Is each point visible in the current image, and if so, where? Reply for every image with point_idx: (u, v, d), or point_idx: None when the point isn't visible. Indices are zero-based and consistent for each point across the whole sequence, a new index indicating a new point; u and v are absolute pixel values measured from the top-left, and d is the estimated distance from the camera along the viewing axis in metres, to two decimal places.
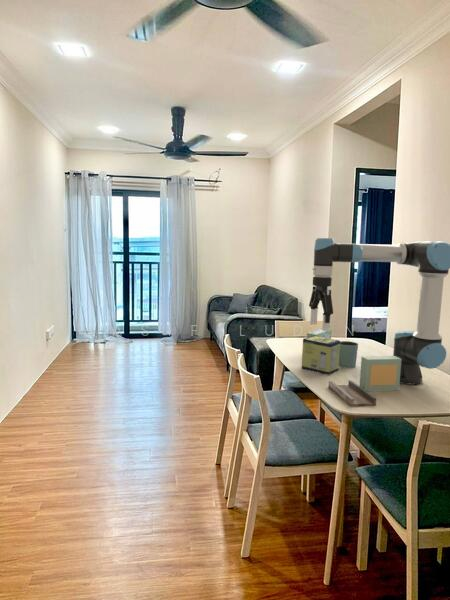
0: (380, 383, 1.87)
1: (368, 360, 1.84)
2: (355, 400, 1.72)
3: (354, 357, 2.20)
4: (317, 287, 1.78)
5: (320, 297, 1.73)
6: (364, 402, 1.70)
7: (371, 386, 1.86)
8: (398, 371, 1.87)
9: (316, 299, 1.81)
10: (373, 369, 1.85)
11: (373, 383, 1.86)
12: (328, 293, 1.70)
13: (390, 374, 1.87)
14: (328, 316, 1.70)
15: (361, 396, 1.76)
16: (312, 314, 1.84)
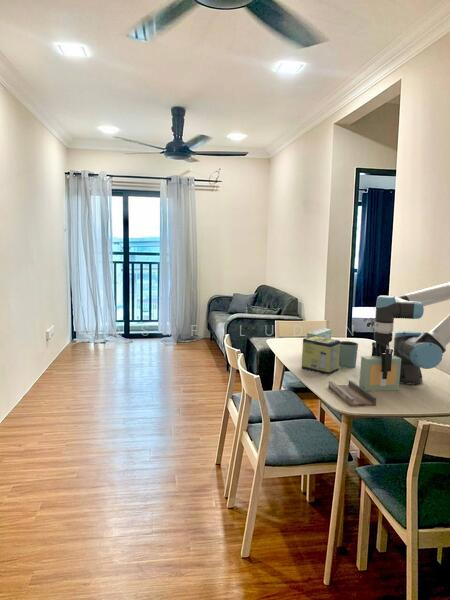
0: None
1: (368, 360, 1.85)
2: (355, 400, 1.72)
3: (354, 357, 2.20)
4: None
5: (381, 353, 1.85)
6: (364, 402, 1.70)
7: (371, 386, 1.86)
8: (398, 371, 1.87)
9: (378, 354, 1.90)
10: (372, 369, 1.85)
11: (373, 383, 1.86)
12: (390, 352, 1.81)
13: (389, 374, 1.87)
14: (386, 373, 1.84)
15: (361, 396, 1.76)
16: None
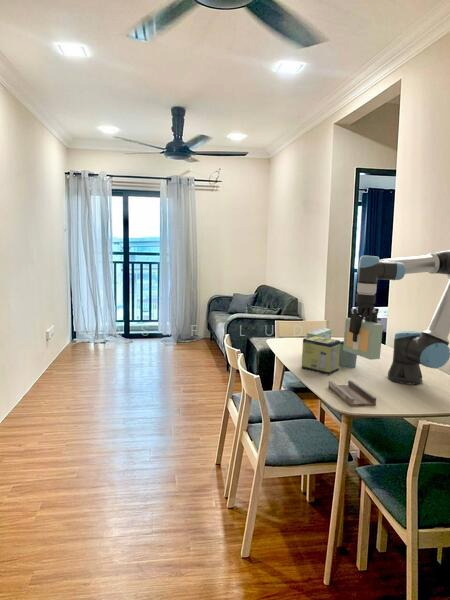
0: None
1: (346, 319, 1.84)
2: (355, 400, 1.72)
3: (354, 357, 2.20)
4: None
5: (356, 314, 1.78)
6: (364, 402, 1.70)
7: (348, 347, 1.83)
8: (370, 338, 1.72)
9: (366, 318, 1.79)
10: None
11: (349, 344, 1.82)
12: (352, 312, 1.75)
13: (362, 339, 1.75)
14: (354, 335, 1.77)
15: (361, 396, 1.76)
16: None
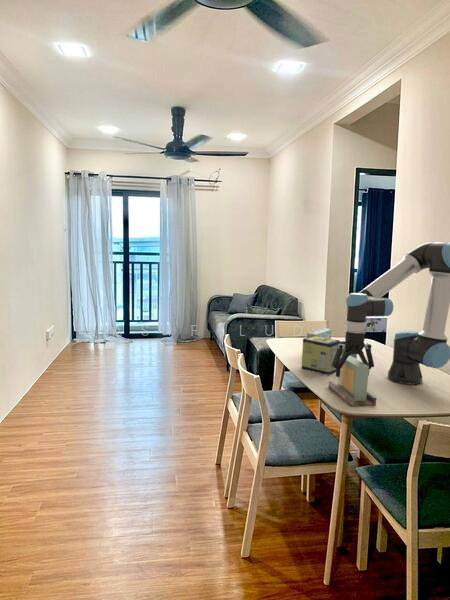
0: (344, 385, 1.79)
1: (340, 357, 1.84)
2: None
3: (354, 357, 2.20)
4: None
5: None
6: (364, 402, 1.70)
7: (340, 385, 1.83)
8: (354, 379, 1.71)
9: (359, 355, 1.78)
10: None
11: None
12: (338, 348, 1.75)
13: (349, 379, 1.75)
14: (336, 370, 1.76)
15: None
16: None
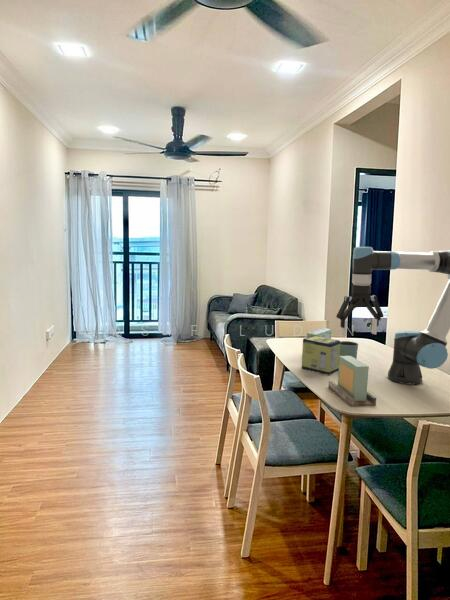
0: (344, 385, 1.79)
1: (340, 357, 1.84)
2: None
3: (354, 357, 2.20)
4: None
5: None
6: (364, 402, 1.70)
7: (340, 385, 1.83)
8: (354, 379, 1.71)
9: (367, 307, 1.81)
10: (341, 367, 1.82)
11: (341, 382, 1.82)
12: (345, 299, 1.78)
13: (349, 379, 1.75)
14: (341, 321, 1.79)
15: None
16: (372, 323, 1.83)
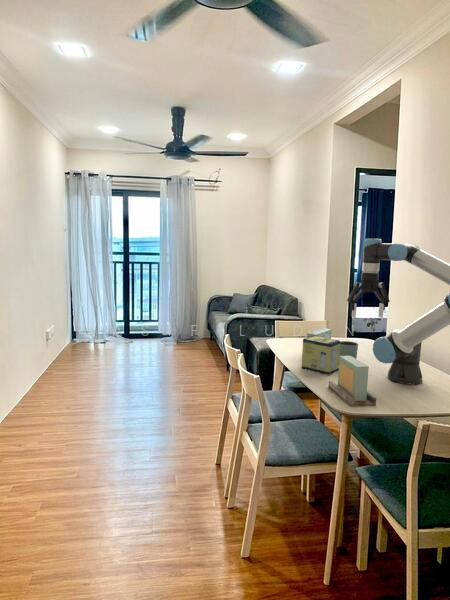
0: (344, 385, 1.79)
1: (340, 357, 1.84)
2: None
3: (354, 357, 2.20)
4: None
5: (360, 289, 2.02)
6: (364, 402, 1.70)
7: (340, 385, 1.83)
8: (354, 379, 1.71)
9: (375, 293, 2.02)
10: (341, 367, 1.82)
11: (341, 382, 1.82)
12: (355, 285, 1.99)
13: (349, 379, 1.75)
14: (351, 304, 2.00)
15: None
16: (379, 308, 2.04)
